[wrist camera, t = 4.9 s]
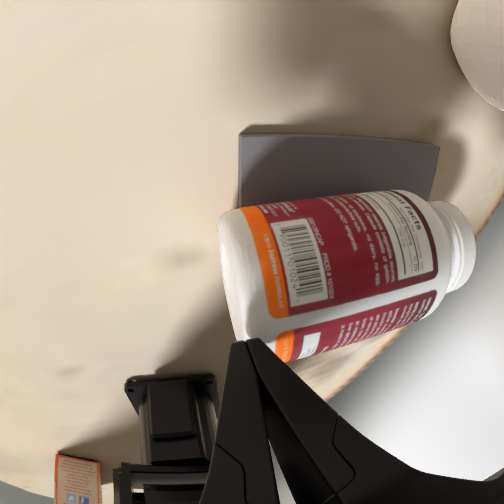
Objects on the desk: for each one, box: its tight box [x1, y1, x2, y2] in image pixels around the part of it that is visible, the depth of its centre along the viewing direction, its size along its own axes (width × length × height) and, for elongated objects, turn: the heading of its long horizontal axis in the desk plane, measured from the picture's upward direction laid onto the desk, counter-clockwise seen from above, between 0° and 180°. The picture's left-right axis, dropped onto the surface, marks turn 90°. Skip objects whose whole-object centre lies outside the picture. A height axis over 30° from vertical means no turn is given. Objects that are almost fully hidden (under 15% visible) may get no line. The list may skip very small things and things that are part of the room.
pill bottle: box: [218, 190, 476, 363], centre depth 13 cm, size 6×6×11 cm
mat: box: [238, 134, 440, 209], centre depth 16 cm, size 10×11×1 cm
